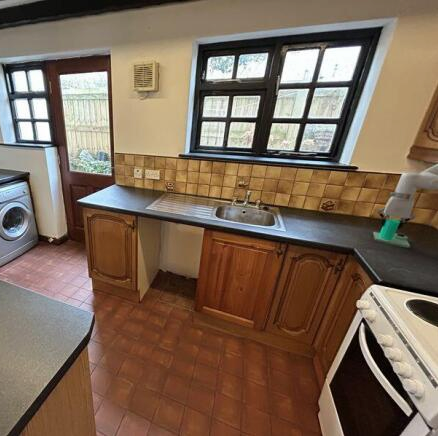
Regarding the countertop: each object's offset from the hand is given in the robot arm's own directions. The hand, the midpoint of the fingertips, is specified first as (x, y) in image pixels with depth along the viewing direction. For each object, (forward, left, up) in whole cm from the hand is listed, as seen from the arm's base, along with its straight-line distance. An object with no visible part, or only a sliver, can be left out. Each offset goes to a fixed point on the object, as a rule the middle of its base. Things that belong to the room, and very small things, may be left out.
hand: (390, 226), depth 136 cm
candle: (0, 0, -7) cm, 7 cm away
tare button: (-6, -4, -6) cm, 10 cm away
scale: (-2, -1, -8) cm, 9 cm away
